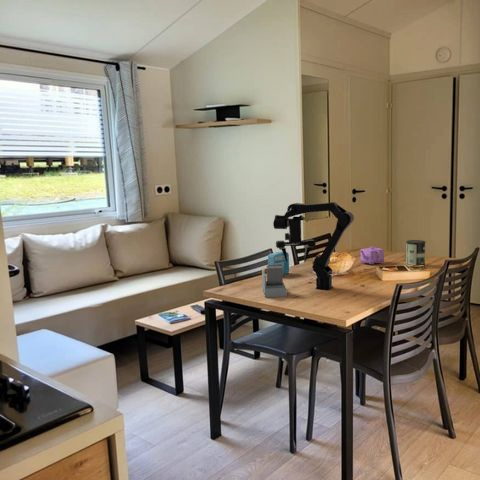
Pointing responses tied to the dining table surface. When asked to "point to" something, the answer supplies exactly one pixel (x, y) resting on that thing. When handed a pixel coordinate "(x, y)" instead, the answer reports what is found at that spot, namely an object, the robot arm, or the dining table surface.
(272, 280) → the grey rectangular block
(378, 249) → the purple box
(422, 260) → the coffee can
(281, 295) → the rack
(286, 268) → the data package
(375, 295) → the dining table surface
